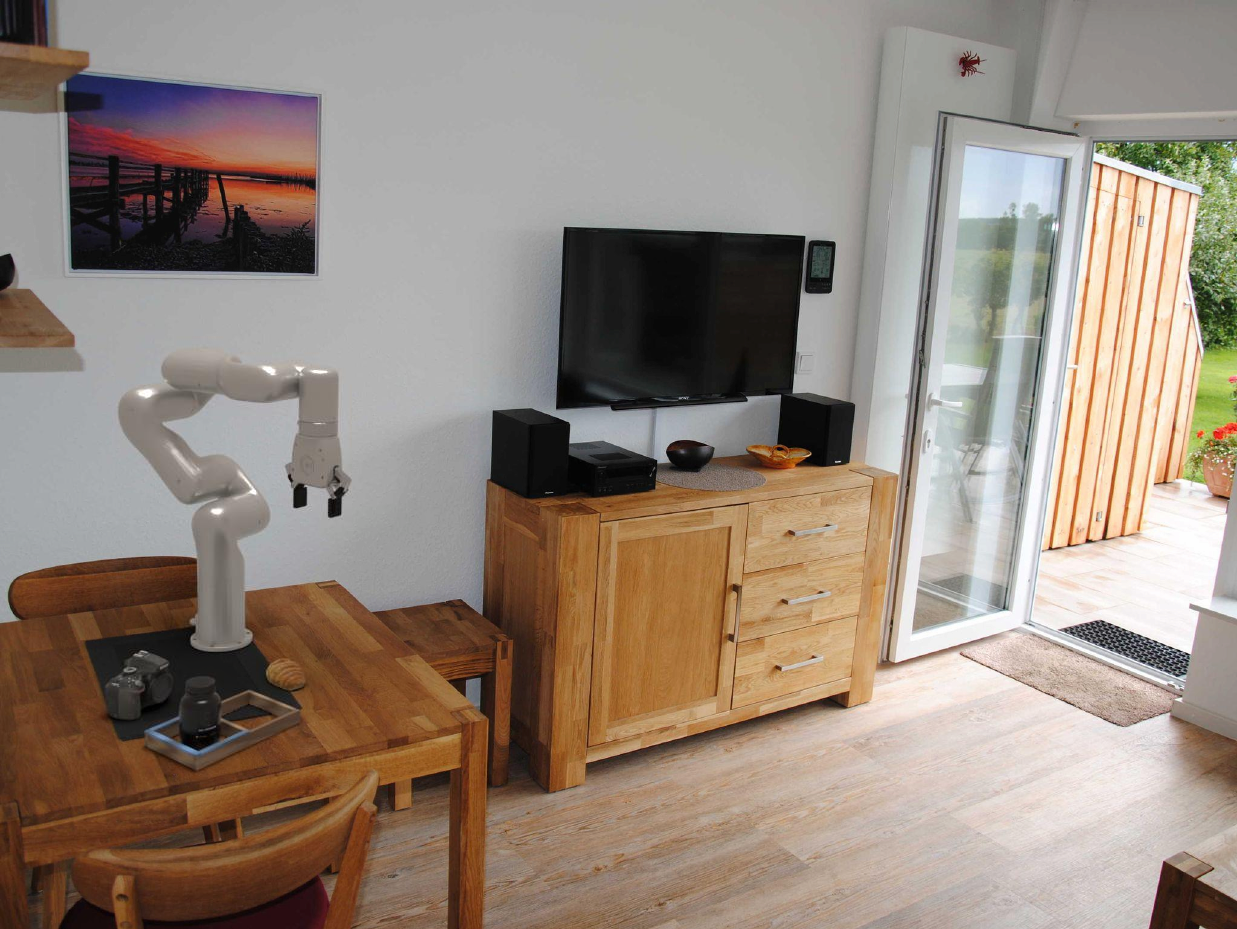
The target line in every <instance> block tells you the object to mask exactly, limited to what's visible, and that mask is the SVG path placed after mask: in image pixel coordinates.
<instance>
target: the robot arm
mask: <svg viewBox="0 0 1237 929" xmlns="http://www.w3.org/2000/svg"><path fill="white" fill-rule="evenodd" d="M160 372H161V376H162V378H163V380H164V381H163V382H154V383H148V384H142V385H138V386H136V387H132V388H131V389H129V390H127V391H126V392H125V393H123V395H122V396H121V398H120V400H119V402H118V407H117V416H118V422H119V425H120V428H121V430H122V432H123V434H124V436H125V438H127V440H128V441H129V442H130V443H131V445H133V447H134V448H136V450H137V451H138V452H139V453H140V454H141V455H142V456H143V457H144V458H145V459H146V460H147V462H148V464H150V466H151V467H152V469H153V470H154V471H155V472H156V474H157V475H158V477H159V479H161V481H162V482H163V483H164V485H165V486H166V488H167V489H168V490H169V491H170V493H171V494H172V495H173V496H174V498H176V500H177V501H179V503H181V504H183V505H186V506H192V505H197V504H202V503H205V502H206V503H205V504H203V505H201V506H200V507H199V508H198V509H196V510H195V512H194V514H193V515H192V519H191V531H192V535H193V536H192V537H193V540H194V545H195V552H196V567H197V568H196V569H197V570H196V572H197V574H196V576H197V577H196V578H197V613H196V614H195V615H194V617H192V618H191V619H190V620H189V624H190V625H192V626H195V632H194V633H193V634H192V635H191V636H190V645H191V646H192V647H193V648H194V649H197V650H199V651H203V652H210V653H211V652H212V653H213V652H214V653H218V652H219V653H222V652H231V651H235V650H239V649H242V648H245V647H246V646H248V645H250V644H251V642H252V641H253V632H252V631H251V630H250V629H248V628H246V568H245V566H246V565H245V564H246V563H245V562H246V561H245V558H244V556H243V553H242V551H241V550H240V547H239V546H238V541H240V540H242V539H245V538H248V537H251V536H253V535H257V534H258V533H261V532H262V531H264V530H265V529H266V528H267V527H268V525H270V524H269V523H270V521H271V510H270V507H269V505H268V503H267V500H266V499H265V497H264V496H263V494H262V493H261V492H260V490H259V489H258V488H257V487H256V485H255V484H254V483H253V482H252V480H251V478H249V476H248V475H247V474H246V472H245V471H244V470H243V468H242V467H241V466H240V465H239V463H238V462H237V461H235V460H234V459H233V458H231V457H229V456H227V455H224V454H219V453H216V454H209V455H205V456H200V455H197V453H195V451H193V449H192V448H191V447H190V446H189V444H188V442H186V440H185V439H184V438H183V437H181V435H179V434H178V433H177V432H175V431H174V430H171V429H170V428H168V427H167V426H165V425H164V424H163V423H168V422H173V421H179V420H184V419H188V418H191V417H194V416H195V415H196V414H198V413H199V412H200V411H201V410H202V409H203V408H204V407H206V405H207V404H208V402H210V401H211V400H212V398H213V397H214V396H215V395H222V396H225V397H227V398H229V399H230V400H234V401H239V402H248V403H255V404H256V403H259V404H270V403H277V402H281V401H287V400H293V399H298V420H297V422H296V423H297V426H298V433H297V432H296V434H295V436H294V442H293V446H292V455H291V462H289V463H285V465H284V468H285V471H286V474H287V479H288V480H289V482H290V488H291V489H293V491H292V493H293V494H292V502H293V503H292V508H294V509H300V508H305V507H307V506H308V487H307V486H309V487H313V488H316V489H321V490H322V489H325V490H326V491H327V494H328V496H329V498H328V499H327V517H328V518H329V519H332V518H336V517H340V516H342V513H343V512H342V511H343V510H342V509H343V508H342V507H343V505H342V504H343V497H345V496H346V494H347V492H348V491H349V487H350V485H351V483H352V479H351V477H350V476H349V475H348V474H346V472H344V471H343V459H342V458H343V457H342V448H341V441H340V438H339V437H338V436H339V386H340V385H339V380H340V379H339V373H338V370H336V369H335V368H334V367H330V366H325V365H323V366H322V365H313V364H309V363H307V362H304V361H301V360H300V361H299V360H289V361H279V362H278V361H277V362H272V363H266V364H265V363H264V364H253V363H243V362H242V360H241V359H240V358H239V357H238V356H237V355H235V354H234V353H224V352H223V351H221V350H219V349H217V348H215V347H199V348H198V347H197V348H186V349H179V350H176V351H174V352H173V351H172V352H171V353H170V354H168V355H167V356H166V357H165V358H164V359H163V361H162V363H161V366H160ZM334 489H335V490H334ZM208 501H209V502H208Z"/></svg>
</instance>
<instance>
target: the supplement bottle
mask: <svg viewBox="0 0 1237 929" xmlns="http://www.w3.org/2000/svg"><path fill="white" fill-rule="evenodd" d="M216 690H217V688H216V679H215V678H213V677H211V676H205V675H204V676H203V675H201V676H195V677H191V678H188V679H187V680H186V681H185V688H184V693H185V694H184V695H183V696H181V698H180V699H179V703H178V704H179V705H178V717H179V735H178V742H179V743H181V744H183V745H185V746H188V747H190V748H192V749H194V750H196V751H200V750H202V749H204V748H206V747H209V746H211V745H213V744H215V743H217V742H220V741H222V740H221V735H222V734H221V718H222V716H221V701H222V699H221V696H220V695H219V693H217V692H216Z"/></svg>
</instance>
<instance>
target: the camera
mask: <svg viewBox="0 0 1237 929" xmlns="http://www.w3.org/2000/svg"><path fill="white" fill-rule="evenodd" d="M169 665H170V661H169V660H167V659H165V658H163V657H162V656H160V655H157V654H154V653H151V652H148V651H145V650H140V651H139V652H138V653H134V654H133V656H131V657H129V658H127V659H125V660H124V663H123V670H122V672H120V673H119V674H118V675H115V677H114V676H113V677H112V678H110V679H109V681H108V682H107V683H106V684H105V686H104V688H103V690H104V693H105V702H106V704H105V705H106V710H107V713H108V715H109V716H110V717H111V718H113V719H117V720H121V721H136V720H138V719H139V718H140V717H141V710H144V709H145V708H146V707H148V706H153V705H156V704H161V703H163V702H165V700H167V698H168V697H169V696H170V693H171V692H172V690H173V684H174V681H173V680H174V679H173V677H172V676H173V675H171V674H170V671H169V669H168V666H169Z"/></svg>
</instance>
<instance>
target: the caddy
mask: <svg viewBox="0 0 1237 929" xmlns="http://www.w3.org/2000/svg"><path fill="white" fill-rule="evenodd" d="M247 704H250V705H249V706H251V705H254V706H256V707H259V708H261V709H263V710H262V711H264V710H267V711H269V712H271V713H272V714H271V713H270V714H271V715H274V716H275V718H274V719H272V720H269V721H267V722H265V723H262V724H261V725H258V726H256V727H254V728H251V729H248V728H245V727H243V726H241V725H238V724H236V723H234V722H233V721H230V720H228V719H224V718H222V717H223V716H225V715H227V713H228V714H230V713H233V712H234V710H235V711H237V710H239V709H241V708H240V707H242V708H244V707H246V706H248V705H247ZM245 705H246V706H245ZM243 706H244V707H243ZM254 706H253V707H254ZM256 707H255V708H256ZM238 708H239V709H238ZM259 708H258V709H259ZM261 709H260V710H261ZM300 722H301V710H300V709H298V708H295V707H293V706H291V705H288V704H286V703H283V702H282V701H279V700H276V699H275V698H274V699H273V698H271V697H269V696H266V695H264V694H261V693H259V692H255V691H253V690H251V689H248V690H246V691H243V692H240V693H238V694H235V695H233V696H230V697H228V698H226V699H223V700H221V735H222V736H225V737H227V738H224V739H222V740H220V742H217V743H215V744H213V745H211V746H209V747H206V748H204V749H202V750H200V751H196V750H194V749H192V748H190V747H188V746H185V745H183V744H181V743H179V741H178V740H177V741H176V740H174V739H172V738H174V737H176V736H179V716H176V717H174V718H172V719H169V720H167V721H164V722H162V723H160V724H157V725H155V726H152V727H150V728H148V729H146V730H143V731H144V732H143V733H144V747H146V748H148V749H150V750H152V751H155V752H156V753H158V754H161V755H163V756H165V757H167V758H169V759H172V760H173V761H175V762H178V763H180V764H182V765H185V766H186V767H188V768H190V769H192V770H194V771H200V770H202V769H204V768H206V767H209V766H211V765H213V764H215V763H217V762H219V761H221V760H223V759H225V758H228V757H230V756H231V755H234V754H236V753H238V752H240V751H243V750H245V749H247V748H249V747H251V746H253V745H255V744H257V743H260V742H261V740H262V741H263V740H266V739H268V738H271V737H272V736H274V735H277V734H279V733H281V732H283V731H285V730H287V729H289V728H292V727H294V726H295V725H297V724H299V723H300Z"/></svg>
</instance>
